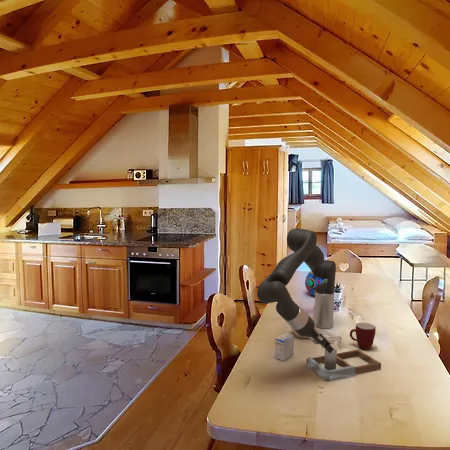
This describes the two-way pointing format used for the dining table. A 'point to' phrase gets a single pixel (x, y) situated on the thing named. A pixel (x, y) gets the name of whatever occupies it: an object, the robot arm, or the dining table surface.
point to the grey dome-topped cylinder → (330, 359)
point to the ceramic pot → (313, 282)
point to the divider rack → (343, 365)
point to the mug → (364, 335)
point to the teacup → (314, 328)
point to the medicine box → (284, 346)
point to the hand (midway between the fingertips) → (324, 346)
